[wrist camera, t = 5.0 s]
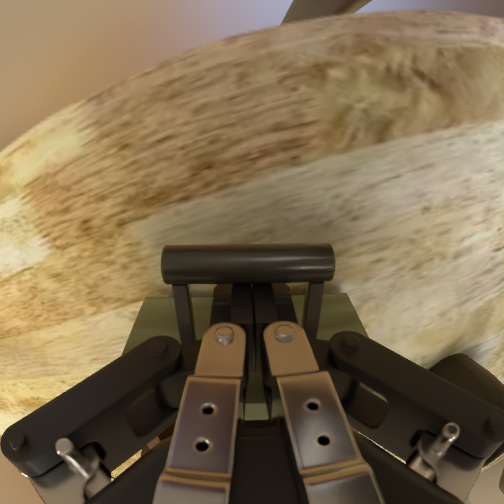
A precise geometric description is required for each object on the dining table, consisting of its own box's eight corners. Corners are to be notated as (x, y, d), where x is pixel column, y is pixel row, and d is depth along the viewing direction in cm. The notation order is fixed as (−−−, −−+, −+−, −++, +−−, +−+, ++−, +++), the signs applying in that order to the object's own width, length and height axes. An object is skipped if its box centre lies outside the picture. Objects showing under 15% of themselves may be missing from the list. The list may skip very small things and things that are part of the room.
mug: (388, 432, 27) (414, 507, 18) (417, 354, 22) (468, 449, 13) (452, 411, 27) (483, 476, 18) (490, 332, 21) (545, 405, 13)
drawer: (130, 209, 15) (63, 286, 8) (359, 206, 15) (433, 280, 9) (179, 428, 23) (170, 504, 16) (316, 425, 23) (331, 500, 17)
